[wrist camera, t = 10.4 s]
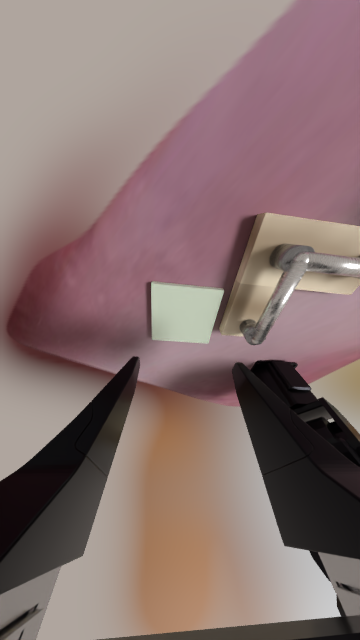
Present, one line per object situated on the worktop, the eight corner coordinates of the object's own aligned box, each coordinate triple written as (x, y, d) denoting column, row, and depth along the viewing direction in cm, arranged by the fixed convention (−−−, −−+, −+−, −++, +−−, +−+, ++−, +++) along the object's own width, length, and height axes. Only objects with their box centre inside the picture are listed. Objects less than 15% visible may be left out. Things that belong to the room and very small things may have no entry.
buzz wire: (302, 334, 17) (331, 358, 14) (218, 328, 16) (229, 352, 13) (383, 232, 11) (466, 233, 8) (257, 214, 10) (293, 207, 7)
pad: (207, 340, 17) (208, 343, 17) (152, 336, 17) (151, 339, 16) (222, 288, 13) (224, 290, 13) (152, 281, 13) (151, 283, 12)
